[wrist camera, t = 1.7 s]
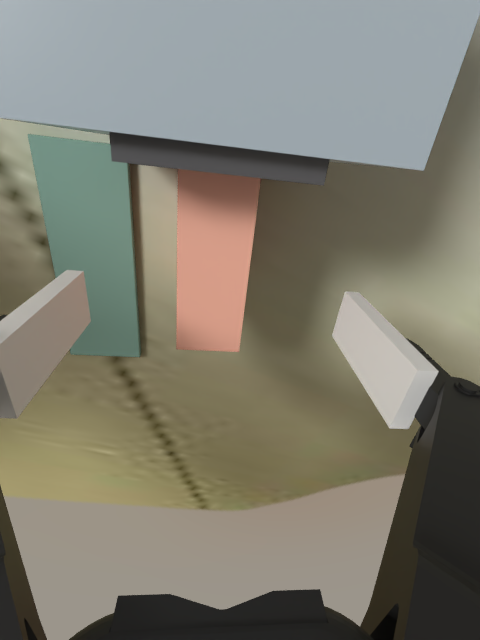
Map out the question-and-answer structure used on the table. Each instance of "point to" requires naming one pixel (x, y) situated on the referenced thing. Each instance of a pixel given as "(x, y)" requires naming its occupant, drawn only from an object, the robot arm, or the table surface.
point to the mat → (92, 236)
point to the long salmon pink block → (213, 257)
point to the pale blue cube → (239, 79)
